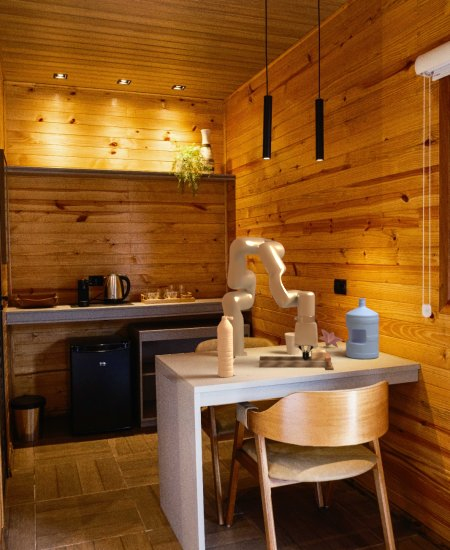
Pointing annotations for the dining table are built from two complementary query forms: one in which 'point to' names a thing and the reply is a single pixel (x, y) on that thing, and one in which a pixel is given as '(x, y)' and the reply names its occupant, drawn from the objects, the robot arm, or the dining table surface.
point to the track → (294, 362)
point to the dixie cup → (291, 344)
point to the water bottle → (225, 347)
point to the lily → (330, 338)
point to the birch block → (318, 355)
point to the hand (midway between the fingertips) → (305, 360)
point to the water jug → (362, 332)
